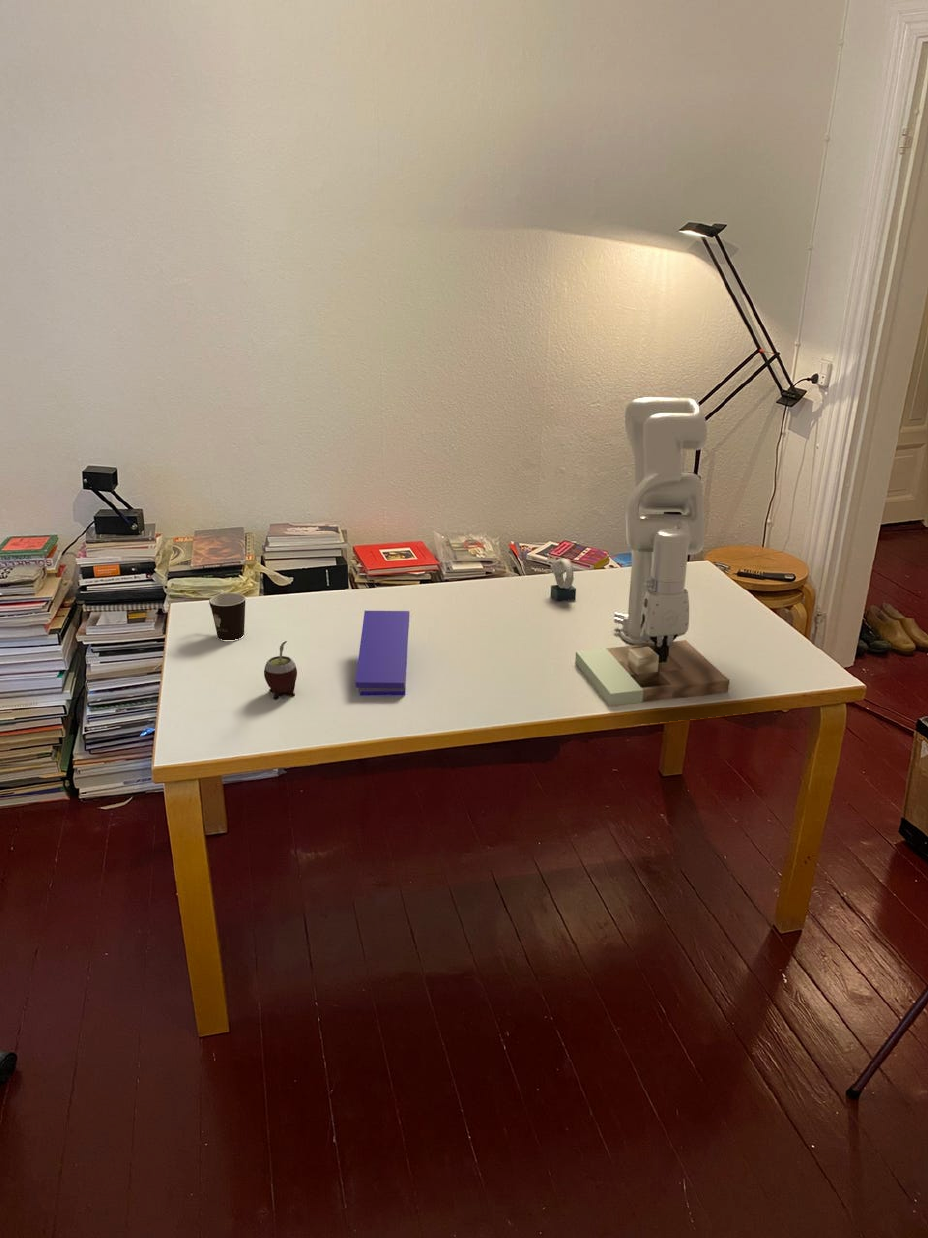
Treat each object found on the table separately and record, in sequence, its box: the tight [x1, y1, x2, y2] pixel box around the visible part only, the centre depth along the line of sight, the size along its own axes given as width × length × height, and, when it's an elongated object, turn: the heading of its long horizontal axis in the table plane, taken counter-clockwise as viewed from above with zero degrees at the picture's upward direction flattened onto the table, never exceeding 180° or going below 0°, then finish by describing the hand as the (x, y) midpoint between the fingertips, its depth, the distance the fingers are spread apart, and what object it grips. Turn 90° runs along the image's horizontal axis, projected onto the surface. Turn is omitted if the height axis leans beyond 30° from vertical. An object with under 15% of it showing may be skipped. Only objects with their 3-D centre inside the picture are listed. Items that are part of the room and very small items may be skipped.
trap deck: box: [606, 640, 731, 703], centre depth 229 cm, size 20×22×3 cm
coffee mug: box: [208, 592, 246, 640], centre depth 247 cm, size 12×9×10 cm
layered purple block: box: [354, 610, 410, 697], centre depth 230 cm, size 12×28×10 cm, turn 2°
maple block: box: [628, 647, 659, 674], centre depth 225 cm, size 5×5×4 cm
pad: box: [574, 647, 643, 707], centre depth 226 cm, size 8×22×3 cm, turn 14°
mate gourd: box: [263, 640, 298, 701], centre depth 217 cm, size 8×8×15 cm
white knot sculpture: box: [550, 557, 577, 603], centre depth 271 cm, size 6×8×11 cm
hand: (660, 659), depth 227 cm, fingers closed
